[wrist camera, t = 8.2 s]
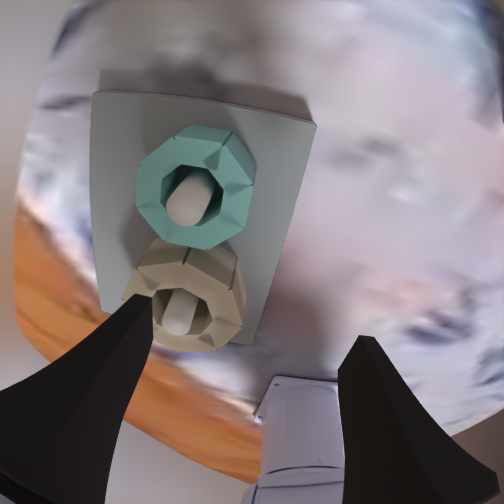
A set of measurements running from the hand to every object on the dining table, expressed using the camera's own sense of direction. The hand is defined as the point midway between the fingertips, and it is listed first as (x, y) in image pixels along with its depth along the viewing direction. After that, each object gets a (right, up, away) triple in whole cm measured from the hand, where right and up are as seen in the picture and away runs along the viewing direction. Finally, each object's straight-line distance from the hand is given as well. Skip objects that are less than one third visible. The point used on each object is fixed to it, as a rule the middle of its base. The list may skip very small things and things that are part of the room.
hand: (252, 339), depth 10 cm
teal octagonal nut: (-3, +7, +6) cm, 9 cm away
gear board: (-4, +5, +9) cm, 11 cm away
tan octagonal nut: (-4, +1, +9) cm, 10 cm away
